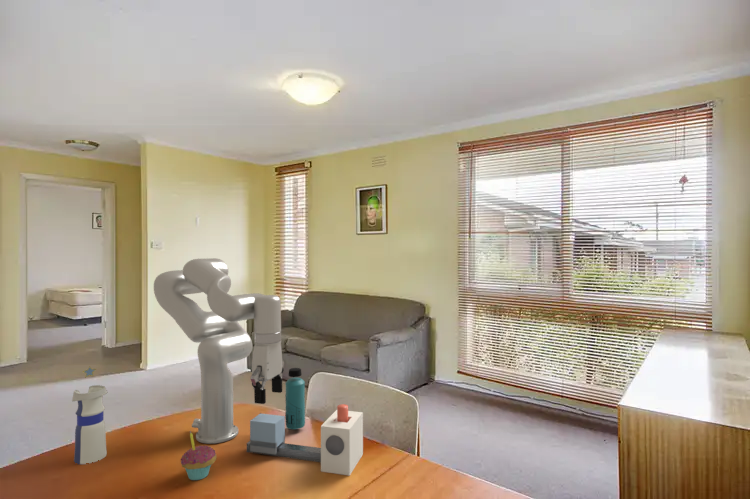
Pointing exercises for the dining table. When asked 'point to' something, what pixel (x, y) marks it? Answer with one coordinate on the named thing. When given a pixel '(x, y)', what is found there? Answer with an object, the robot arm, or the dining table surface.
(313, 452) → the rail
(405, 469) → the dining table surface
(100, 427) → the cream tall piece
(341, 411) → the button
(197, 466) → the cupcake
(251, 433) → the carriage
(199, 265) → the robot arm
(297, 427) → the beverage bottle
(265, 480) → the dining table surface
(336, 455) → the cabinet
